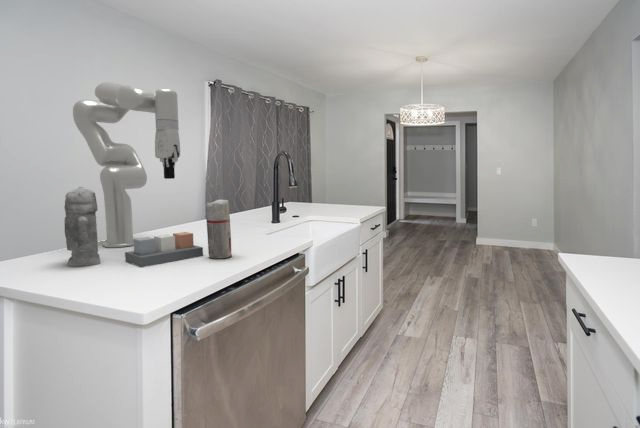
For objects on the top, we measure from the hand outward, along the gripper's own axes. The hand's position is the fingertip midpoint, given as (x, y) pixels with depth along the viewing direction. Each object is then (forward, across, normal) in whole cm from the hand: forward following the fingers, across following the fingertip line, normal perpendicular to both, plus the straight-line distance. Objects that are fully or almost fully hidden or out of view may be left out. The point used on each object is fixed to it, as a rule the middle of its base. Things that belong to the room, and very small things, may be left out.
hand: (169, 178), depth 150 cm
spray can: (+27, +18, +8) cm, 34 cm away
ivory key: (+25, +6, -6) cm, 27 cm away
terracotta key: (+25, +6, +1) cm, 26 cm away
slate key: (+25, +6, -13) cm, 29 cm away
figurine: (+27, -8, -27) cm, 39 cm away
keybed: (+27, +6, -6) cm, 28 cm away
